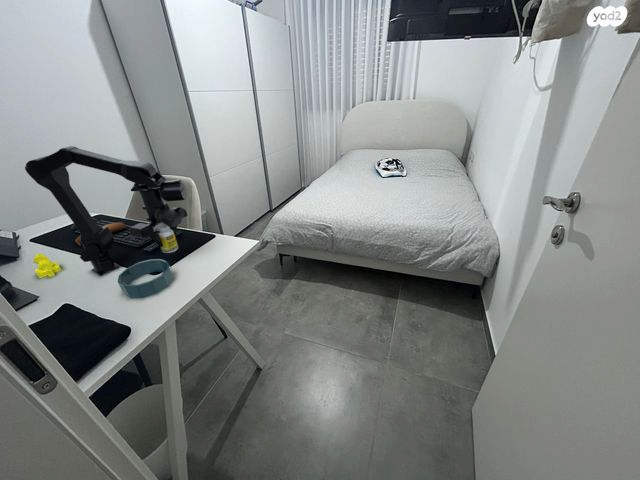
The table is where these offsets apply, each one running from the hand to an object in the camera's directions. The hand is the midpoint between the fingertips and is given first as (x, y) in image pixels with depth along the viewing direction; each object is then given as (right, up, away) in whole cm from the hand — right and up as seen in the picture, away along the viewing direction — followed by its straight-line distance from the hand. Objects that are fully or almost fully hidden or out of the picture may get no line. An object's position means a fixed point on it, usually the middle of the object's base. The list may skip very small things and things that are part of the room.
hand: (168, 242), depth 93 cm
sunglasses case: (-43, +3, +23) cm, 49 cm away
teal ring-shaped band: (-2, -14, -7) cm, 16 cm away
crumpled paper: (-42, -11, -1) cm, 43 cm away
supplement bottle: (0, -3, +2) cm, 3 cm away
